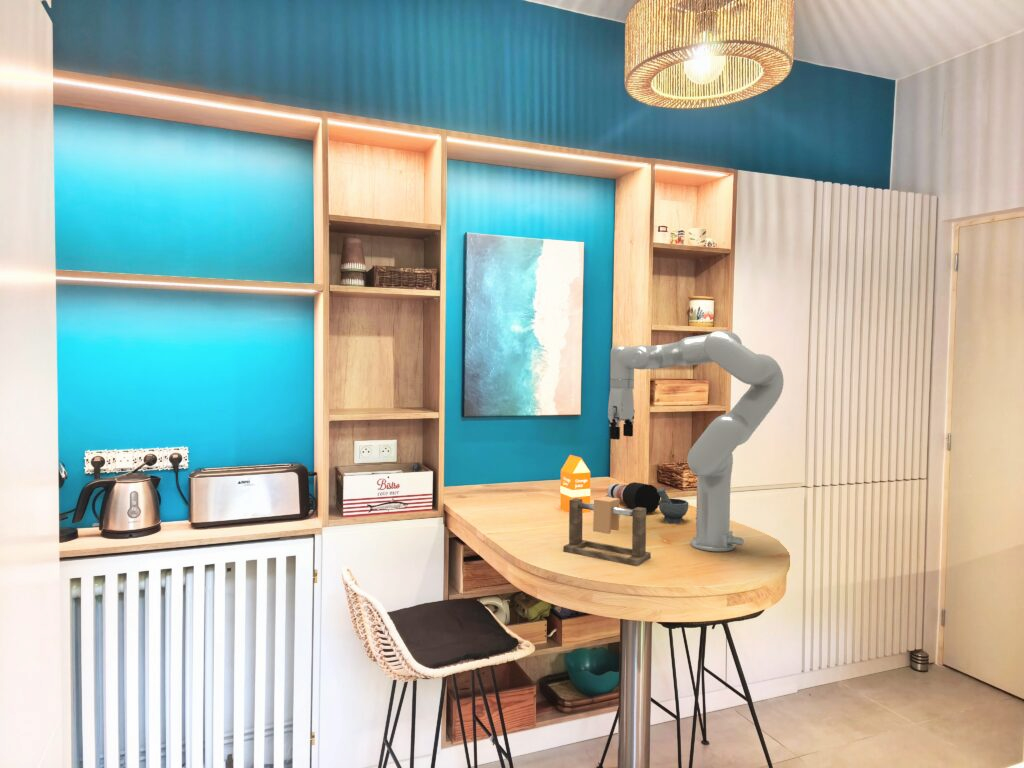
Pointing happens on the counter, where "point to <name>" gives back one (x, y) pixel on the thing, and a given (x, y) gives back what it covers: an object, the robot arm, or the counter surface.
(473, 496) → the counter surface
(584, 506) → the rail
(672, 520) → the mortar and pestle
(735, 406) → the robot arm
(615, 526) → the u-slot holder
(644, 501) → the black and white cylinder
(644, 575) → the counter surface
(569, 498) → the orange juice
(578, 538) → the stand
